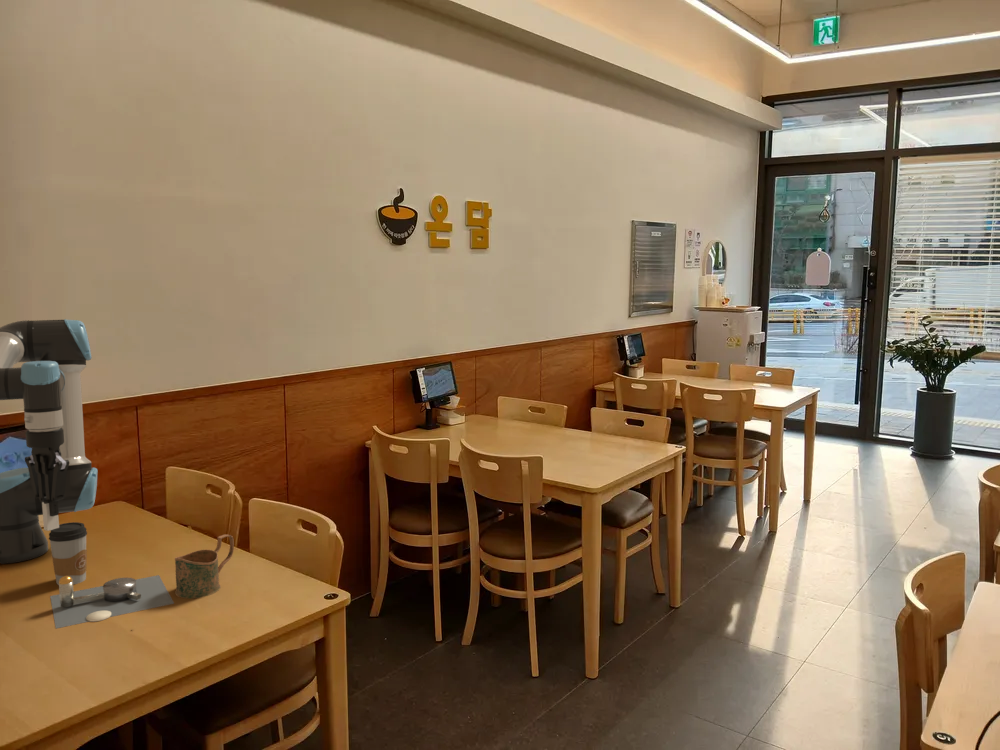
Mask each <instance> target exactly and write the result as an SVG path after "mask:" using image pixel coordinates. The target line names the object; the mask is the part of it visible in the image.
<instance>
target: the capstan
mask: <svg viewBox="0 0 1000 750" xmlns="http://www.w3.org/2000/svg"><path fill="white" fill-rule="evenodd" d="M102 586H103V592H101V593H96V594H91V595H86V596H80V597H75V598H74V591H75V590H74V585H73V579H72V578H71V577H70V576H63V577H61V578H60V580H59V585H58V593H59V594H60V606H61V607H68V606H72V605H73V604H78V603H83V602H88V601H93V600H98V599H103V598H104V600H106V601H110V602H117V601H123V600H127V599H130V598H131V599H134V600H138V599H140V598H141V594H138V593H137V591H136V579H135V578H133V577H118V578H114V579H110V580H108V581H106V582H105V583H103V585H102Z"/></svg>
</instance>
